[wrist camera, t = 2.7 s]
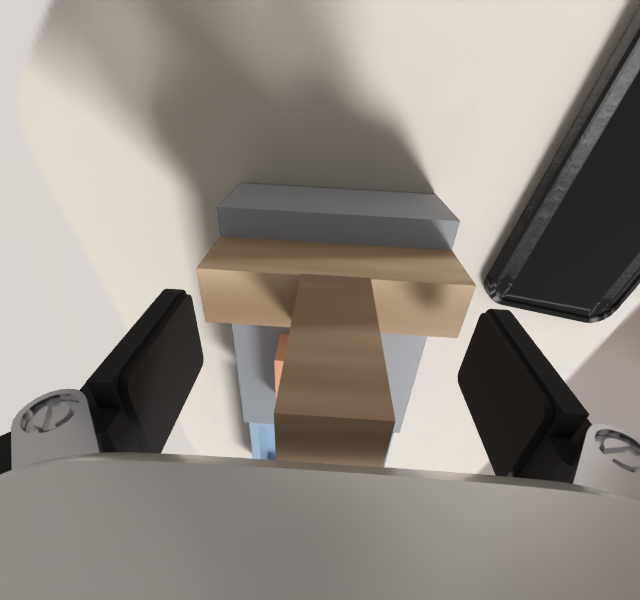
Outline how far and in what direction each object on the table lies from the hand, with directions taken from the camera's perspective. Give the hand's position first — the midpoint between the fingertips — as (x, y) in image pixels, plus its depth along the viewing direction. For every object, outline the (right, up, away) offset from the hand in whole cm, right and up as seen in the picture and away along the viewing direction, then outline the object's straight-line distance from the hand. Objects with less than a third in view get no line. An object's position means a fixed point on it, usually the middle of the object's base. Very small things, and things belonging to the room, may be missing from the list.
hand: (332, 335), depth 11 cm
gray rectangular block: (0, +1, +10) cm, 10 cm away
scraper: (0, +3, +4) cm, 5 cm away
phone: (+15, +7, +6) cm, 17 cm away
